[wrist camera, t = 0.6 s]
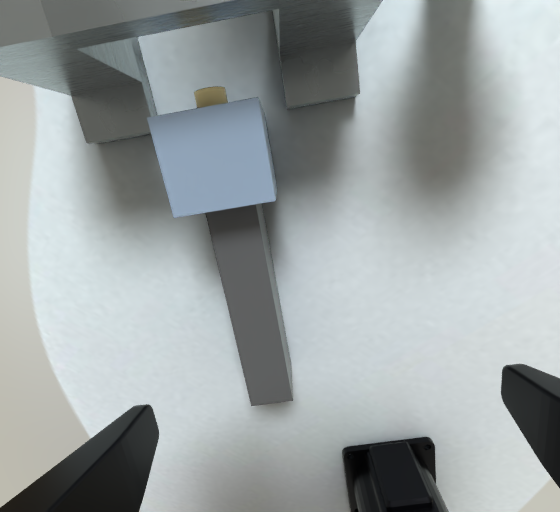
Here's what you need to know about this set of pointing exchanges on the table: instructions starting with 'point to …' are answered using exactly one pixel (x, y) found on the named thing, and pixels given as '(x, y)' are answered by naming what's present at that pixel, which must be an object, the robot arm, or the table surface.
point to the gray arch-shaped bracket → (159, 18)
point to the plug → (232, 221)
